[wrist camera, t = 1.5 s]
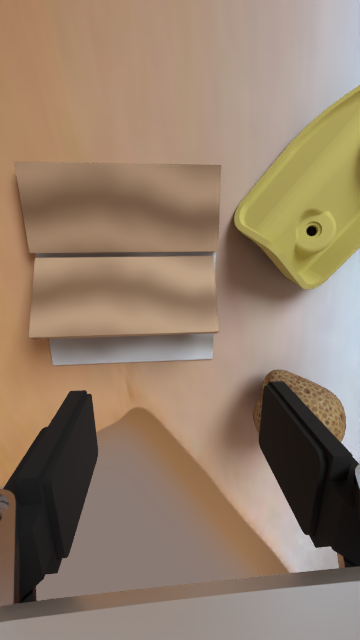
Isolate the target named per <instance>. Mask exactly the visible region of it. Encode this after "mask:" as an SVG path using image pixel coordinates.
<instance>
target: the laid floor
mask: <svg viewBox="0 0 360 640" xmlns="http://www.w3.org/2000/svg"><path fill="white" fill-rule="evenodd" d="M14 164H15V170H16V176H17V182H18V188H19V194H20V200H21V206H22V212H23V218H24V224H25V230H26V236H27V242H28V248H29V253H35V256H36V258H77V257H172V256H213V257H214V270H215V257H216V251H218V239H219V209H220V178H221V165H189V164H127V163H65V162H14ZM49 343H50V350H51V356H52V362H53V365H74V364H98V363H123V362H148V361H172V360H197V359H212V357H213V333H210V334H180V335H150V336H120V337H90V338H60V339H49Z"/></svg>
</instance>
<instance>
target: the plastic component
mask: <svg viewBox="0 0 360 640" xmlns="http://www.w3.org/2000/svg"><path fill="white" fill-rule="evenodd" d="M234 222H235V226H236V227H237V228H238V230H239V231H240V232H241V233H242V234H244V235H245V236H247V237H248V238H250V239H251V240H252V241H253V242H255V243H256V244H257V245H258V246H259V247H260V248H261V249H262V250H263V251H264V252H265V253H266V254H267V256H268V257H269V258H270V259H271V260H272V262H273V263H274V264H275V265H276V266H277V268H278V269H279V270H280V271H281V273H282V274H283V275H284V276H285V277H286V278H288V279H290V280H291V281H293V282H294V283H296V284H297V285H299V286H300V287H302V288H304V289H313V288H316V287H318V286H319V285H321V284H322V283H324V282H325V281H326V280H327V279H328V278H329V277H330V276H331V275H332V274H333V273H334V272H335V271H336V270H337V269H338V268H339V267H340V266H341V265H342V264H343V263H344V262H345V261H346V260H347V259H348V258H349V257H351V256H352V255H353V254H354V253H355V252H356V251H357V250H358V249H359V248H360V85H359V86H358V87H356V88H355V89H353V90H352V91H350V92H349V93H347V94H346V95H344V96H343V97H342V98H340V99H339V100H338V101H336V102H335V103H334V104H332V105H331V106H330V107H328V108H327V109H326V110H325V111H324V112H322V113H321V114H320V115H319V116H318V117H316V118H315V119H314V120H313V121H312V122H311V123H310V124H309V125H308V126H307V127H306V128H304V129H303V130H302V131H301V132H300V133H299V134H298V135H297V136H296V137H295V139H294V140H293V141H292V142H291V143H290V144H289V145H288V146H287V148H286V149H285V150H284V151H283V152H282V154H281V155H280V156H279V157H278V158H277V159H276V161H275V162H274V163H273V164H272V165H271V167H270V168H269V169H268V170H267V171H266V173H265V174H264V175H263V176H262V177H261V179H260V180H259V181H258V182H257V183H256V185H255V186H254V187H253V188H252V189H251V191H250V192H249V193H248V194H247V195H246V197H245V198H244V199H243V200H242V201H241V203H240V204H239V205H238V207H237V209H236V212H235V215H234ZM309 226H313V227H315V228H316V230H317V233H316V235H315V236H309V235H307V233H306V229H307V228H308V227H309Z"/></svg>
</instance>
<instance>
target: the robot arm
mask: <svg viewBox="0 0 360 640" xmlns="http://www.w3.org/2000/svg"><path fill="white" fill-rule="evenodd" d="M259 445H260V448H261V450H262V452H263V454H264V456H265V458H266V460H267V462H268V464H269V466H270V468H271V470H272V472H273V474H274V476H275V478H276V480H277V482H278V484H279V486H280V488H281V490H282V492H283V494H284V496H285V498H286V500H287V502H288V503H289V505H290V507H291V509H292V511H293V513H294V515H295V517H296V519H297V521H298V523H299V525H300V527H301V529H302V531H303V532H304V534H306V535H309V536H310V538H311V540H312V542H313V543H314V545H315V547H316V548H318V547H328V546H331V547H332V549H333V550H334V551H336V552H337V556H338V562H339V569H328V570H318V571H308V572H298V573H288V574H278V575H268V576H259V577H249V578H239V579H230V580H221V581H211V582H201V583H192V584H184V585H173V586H164V587H154V588H146V589H137V590H128V591H120V592H110V593H102V594H92V595H83V596H75V597H66V598H56V599H49V600H41V601H37V600H36V585H37V584H38V583H39V582H40V581H42V580H43V579H44V576H45V574H54V573H58V570H59V566H60V564H61V560H62V558H67V557H68V555H69V552H70V549H71V546H72V543H73V539H74V536H75V532H76V529H77V526H78V522H79V519H80V515H81V512H82V509H83V505H84V502H85V498H86V495H87V492H88V488H89V485H90V481H91V478H92V475H93V471H94V468H95V464H96V461H97V457H98V445H97V437H96V428H95V420H94V411H93V403H92V396H91V394H87V392H86V391H85V390H83V391H70V392H69V394H68V395H67V397H66V399H65V400H64V402H63V403H62V405H61V407H60V408H59V410H58V411H57V413H56V415H55V416H54V418H53V419H52V421H51V423H50V424H49V426H48V427H45V428H43V429H42V430H41V431H40V433H39V434H38V436H37V437H36V439H35V440H34V442H33V444H32V445H31V447H30V448H29V450H28V451H27V453H26V454H25V456H24V457H23V459H22V460H21V462H20V464H19V465H18V467H17V468H16V470H15V471H14V473H13V474H12V476H11V477H10V479H9V481H8V482H7V484H6V485H5V487H4V488H3V489H0V640H360V464H359V463H358V462H357V461H356V460H355V459H354V458H353V457H352V456H353V455H352V454H351V453H350V452H349V451H348V450H347V449H346V448H345V447H344V445H343V444H342V443H341V442H340V441H339V440H338V439H337V438H336V437H335V436H334V435H333V434H332V433H331V432H330V430H329V429H328V428H327V427H326V426H325V425H324V424H323V423H322V422H321V421H320V420H319V419H318V418H317V417H316V415H315V414H314V413H313V412H312V411H311V410H310V409H309V408H308V407H307V406H306V405H305V404H304V403H303V401H302V400H301V399H300V398H299V397H298V396H297V395H296V394H295V393H294V392H293V391H292V390H291V389H290V388H289V386H288V385H287V384H286V383H285V382H284V381H273V382H268V384H267V385H265V386H264V389H263V399H262V410H261V420H260V431H259Z"/></svg>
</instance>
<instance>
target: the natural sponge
mask: <svg viewBox="0 0 360 640" xmlns="http://www.w3.org/2000/svg"><path fill="white" fill-rule="evenodd" d="M273 381H284V382H285V383H286V384H287V385H288V386H289V388H290V389H291V390H292V391H293V392H294V393H295V394H296V395H297V396H298V397H299V398H300V399H301V400H302V401H303V403H304V404H305V405H306V406H307V407H308V408H309V409H310V410H311V411H312V412H313V413H314V414H315V415H316V417H317V418H318V419H319V420H320V421H321V422H322V423H323V424H324V425H325V426H326V427H327V428H328V429H329V430H330V432H331V433H332V434H333V435H334V436H335V437H336V438H337V439H338V440H339V441H340V442H341V441H342V440H343V437H344V435H345V429H346V416H345V412H344V408H343V406H342V404H341V402H340V400H339V399H338V398H337V397H336V395H334V394H333V393H332V392H331V391H329V390H327V389H326V388H324V387H322V386H320V385H318V384H316V383H314V382H311V381H309V380H307V379H305V378H302V377H300V376H298V375H295V374H293V373H290V372H288V371H285V370H273V371H271V372H270V373H268V375H267V376H266V377H265V379H264V381H263V385H262V393H261V396H260V397H259V399H258V400H257V402H256V404H255V406H254V411H253V417H254V422H255V426H256V428H257V431H258V433H259V431H260V420H261V410H262V399H263V389H264V386H265V385H267V384H268V382H273Z"/></svg>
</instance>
